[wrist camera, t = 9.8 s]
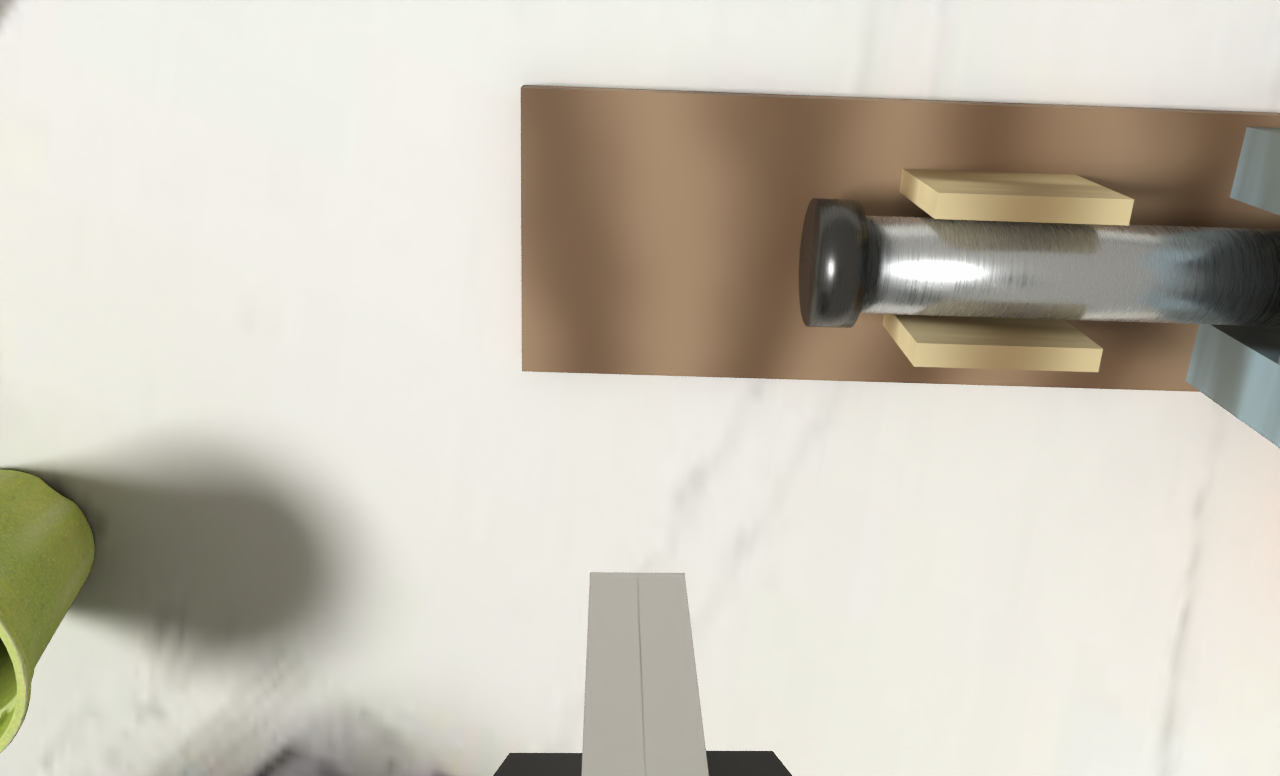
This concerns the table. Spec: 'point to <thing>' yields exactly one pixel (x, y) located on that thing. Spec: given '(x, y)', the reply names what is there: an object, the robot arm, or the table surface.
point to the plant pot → (34, 582)
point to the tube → (1032, 270)
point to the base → (886, 186)
